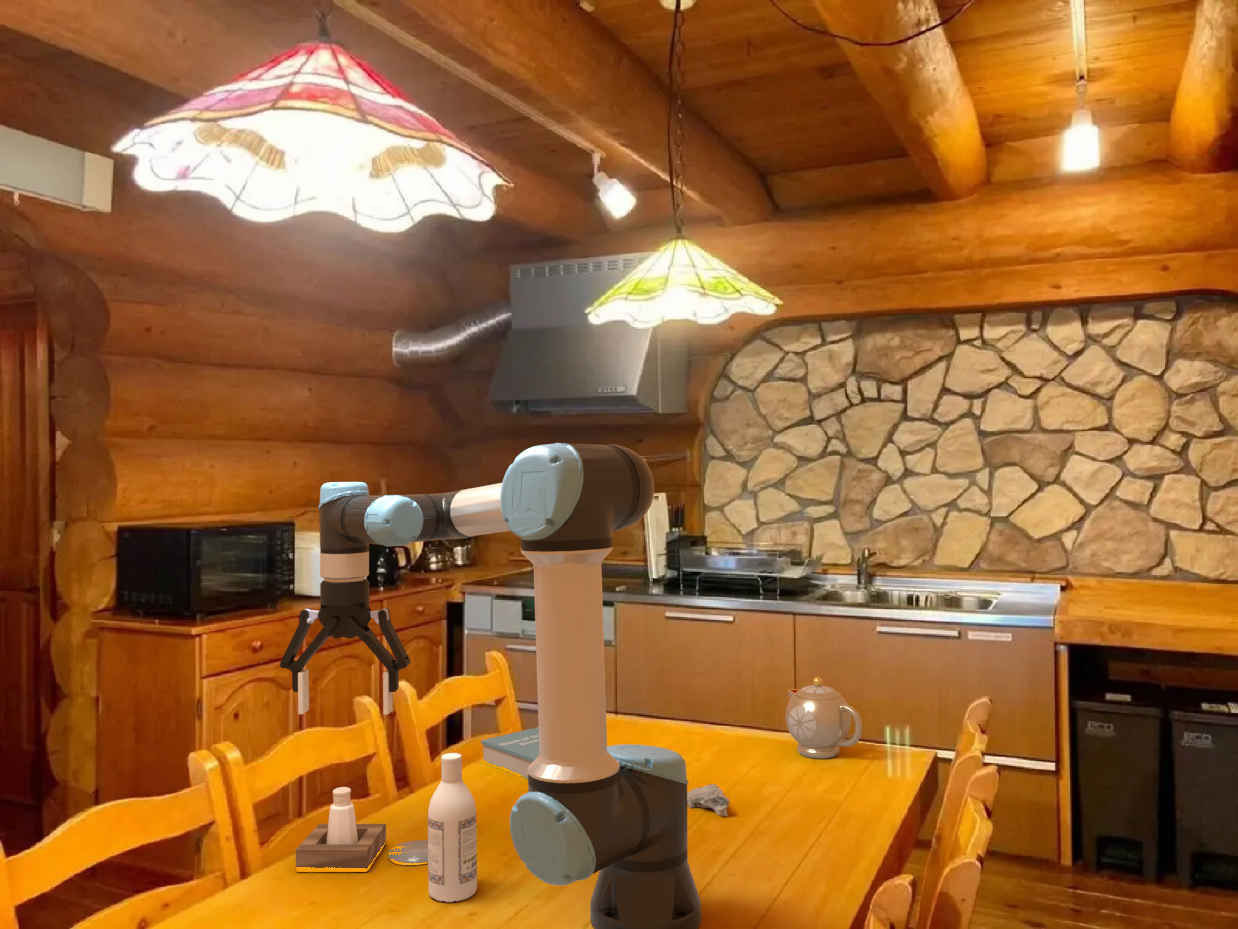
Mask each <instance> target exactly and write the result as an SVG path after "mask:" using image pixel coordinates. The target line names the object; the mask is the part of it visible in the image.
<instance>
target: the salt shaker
mask: <svg viewBox="0 0 1238 929" xmlns="http://www.w3.org/2000/svg"><path fill="white" fill-rule="evenodd" d="M351 793H352V789H351V788H350V787H347V786H340V787H336V788H334V789H332V796H333V797H332V798H333V799H332V800H333V802H332V804H331V805H329V806H330V807H329V815H328V822H327V824H328V834H327V844H357V843H358V837H357V828H356V824H357V822H356V813H355V805H354V804H353V802H352V801H351Z"/></svg>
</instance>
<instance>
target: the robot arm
mask: <svg viewBox="0 0 1238 929" xmlns="http://www.w3.org/2000/svg"><path fill="white" fill-rule="evenodd" d="M319 490H320V491H319V492H320V493H319V505H318V511H319V513H318V516H319V517H318V519H319V521H318V522H319V548H320V550H319V551H320V552H319V577H321V579H323V580H322V581H321V582H320V583H319V585H320V586H319V590H320V591H319V593H320V594H319V595H320V596H319V598H320V601H319V602H320V603H319V604H320V608H319V610H314V609H313V608H311V607H308V608H305V609H303V610H301V611H300V612H299V620H298V622H299V623H298V625H297V627H296V629H295V631H294V634H293V636H292V638H291V640H290V642H289V644H288V645H287V648H286V650H285V652H284V654H283V656H282V658H281V660H280V663H279V667H280V668H281V669H286V670H289V671H290V672H291V675H292V676H291V680H292V684H291V685H292V686H291V688H292V689H291V690H292V691H293V693H294V692H295V693H297V700H298V702H297V707H298V709H297V710H298V711H297V713H298V714H297V715H304V714H306V713H307V712H308V711H309V710H310V686H309V685H310V683H309V682H310V681H309V679H310V678H309V676H310V674H309V673H310V672H309V668H308V669H306V668H305V666H306V665H307V664H308V663H309V661H310V660H311V659H312V657H313V656H315V654H316V653H317V651H319V649H320V648H321V647H322V646H323V645H324V643H325V642H326V641H327V640H328V639H329V638H330V637H331V638H333V639H340V638H346V639H354V638H356V637H358V638H359V640H361V641H362V642H363V643H365V645H366V646H367V647H368V649H369V650H370V651H371V652H372V653H373V654H374V656H375V657H376V658H377V660H379V662H380V663H381V664H382V665H383V667H384V668H385V669H386V670H385V671H384V672H383V674H382V682H383V684H382V686H383V687H382V690H383V691H382V692H383V697H382V699H383V702H382V703H383V704H382V705H383V706H382V707H383V712H382V713H383V715H390V713H392V712H393V710H394V709H393V708H394V707H393V705H394V698H393V696H394V695H393V694H394V693H396V692H397V691H398V690H399V687H400V686H399V685H400V682H399V677H400V674H399V671H400V670H402V669H405V668H407V666H409V665H410V664H411V659H410V657H409V655H408V653H407V651H406V649H405V647H404V645H403V644H402V642H401V641H402V640H400V637H399V635H398V633H397V630H396V629H395V628H394V625H393V623H392V619H391V612H390V609H389V608H388V607H383V608H382V609H377V610H376V609H375V610H372V609H371V607H370V581H369V580H368V579H367V578H366V577H368V576H369V575H370V545H369V544H371V545H372V544H373V545H379V546H380V545H382V546H384V547H390V548H391V547H400V546H401V547H402V546H408V545H409V544H411V543H420V542H421V543H422V542H428V541H442V540H443V541H445V540H463V539H467V538H473V537H475V536H482V535H490V534H496V533H504V532H511V533H512V534H514V536H516V537H518V538H519V539H520V552H521V553H522V554H523V556H525V558H526V559H527V560H528V561H529V562H531V564H532V565H533V586H534V590H533V591H534V617H535V618H534V619H535V625H534V626H535V648H536V649H535V651H536V683H537V684H536V686H537V717H538V719H537V720H538V727H539V756H538V757H537V758H536V759H535V760H534V761H533V762H532V763H531V764H530V766H529V767H528V780H527V781H528V782H527V788H528V790H527V791H528V792H526V793H524V794H522V795H521V796H520V797H519V798H518V799H517V800H516V802H515V804H514V805H513V806H512V808H511V811H510V816H509V829H510V830H509V832H510V835H511V840H512V843H513V846H514V849H515V851H516V853H517V855H518V857H519V859H520V861H521V862H523V864H524V865H525V867H526V869H527V870H529V872H530V873H531V874H532V875H533V876H535V878H537V879H538V880H539V881H542V882H544V883H546V884H549V885H552V886H559V887H560V886H562V887H563V886H567V885H570V884H573V883H575V882H577V881H585V880H586V879H588V878H590V877H591V876H592V875H593V874H595V873H597V872H599V873H598V876H597V879H596V882H595V886H594V888H593V893H592V895H591V899H590V904H589V906H590V907H589V908H590V911H589V912H590V914H589V916H590V924H591V925H592V927H593V928H594V929H698V927H699V926H700V924H701V922H702V902H701V898H700V895H699V892H698V889H697V886H696V883H695V879H694V877H693V874H692V871H691V867H690V864H689V860H688V859H689V858H688V857H689V856H688V855H689V854H688V802H687V793H688V786H689V780H688V776H687V762H686V761H685V759H684V758H683V756H682V755H681V754H680V753H678V752H676V751H674V750H672V749H668V748H664V747H660V746H653V745H646V744H645V745H644V744H630V743H629V744H613V745H610V746H608V733H607V727H608V726H607V706H606V705H607V702H606V700H607V699H606V668H605V638H604V637H605V636H604V635H605V634H604V633H605V632H604V609H603V608H604V606H603V605H604V604H603V600H604V599H603V576H602V575H603V574H602V572H603V571H602V563H603V561H604V559H605V558H606V557H608V555H609V554H610V553H611V552H612V550H614V549H613V548H614V545H613V540H614V539H613V537H614V536H613V532H617V531H618V532H619V531H622V530H625V529H628V528H630V527H632V526H634V525H635V524H636V523H638V522H640V520H642V519H643V518H644V517H645V515H647V513H648V511H649V509H650V508H651V506H652V503H653V501H654V496H655V480H654V477H653V473H652V471H651V468H650V466H649V464H648V463H647V462H646V461H645V459H644V458H643V457H642V456H641V455H640V454H638V453H637V452H636V451H634V450H632V449H630V448H628V447H625V446H623V445H620V444H619V445H618V444H611V443H607V444H590V443H589V444H585V443H567V442H566V443H565V442H563V443H561V442H556V443H555V442H554V443H549V444H540V445H534V446H531V447H529V448H527V449H525V450H523V451H522V452H520V453H519V454H518V455H517V456H516V457H515V459H514V461H513V463H511V464H510V465H509V466H508V468H507V470H506V471H505V474H504V476H503V479H502V482H499V483H494V484H489V485H484V486H478V487H472V488H466V489H460V490H454V491H450V492H442V493H441V492H440V493H426V494H425V493H420V494H418V493H417V494H386V495H370V491H369V485H368V484H367V483H366V482H362V481H336V482H335V481H333V482H331V481H330V482H325V483H323V484H322V485H321V487H320V489H319ZM316 619H317V620H318V621H319V623H320V624H321V625H322V627H323V628H322V629H321V630H319V632H318V633H317V635H316V637H314V638H313V640H312V642H310V643H309V645H308V646H307V647H306V648H305V649H304V651H303V652H302V653H301V654H300V655H299V657H298V658H297V659H296V656H297V655H298V652H299V650H300V649H301V646H302V644H303V643H304V640H305V638H306V636H307V634H308V632H309V630H310V627H311V625H312V624H313V623H315V621H316ZM372 619H373V620H374V621H375V623H376V624H378V625H379V627H380V630H381V632H382V634H383V636H384V638H385V640H386V642H387V644H388V646H389V648H390V650H391V652H392V654H393V655H392V654H391V653H390V651H388V649H387V648H386V647H385V646H384V645H383V643H382V642H381V640H379V639H378V637H377V635H375V633H374V631H373V630H372V629H371V627H370V626H369V623H370V621H371V620H372ZM295 659H296V660H295ZM304 668H305V669H304Z"/></svg>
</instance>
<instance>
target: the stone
mask: <svg viewBox="0 0 1238 929" xmlns="http://www.w3.org/2000/svg"><path fill="white" fill-rule="evenodd" d="M729 803H730V799H729V798H728V797H727V796H725V794H724V792H723V790H722V789H721V788H720V786H717V785H716V784H715V783H710V784H707V785H704V786H702V787H696V788H695V787H694V788H693V789H691V790H690V791H687V805H688V808H689V809H694V808H696V807H698V808H701V809H702V808H703V809H711V810H713V811H714V812H715V813H716V815H718V816H722V817H728V815H729V814H728V810H727V808H728V807H729Z"/></svg>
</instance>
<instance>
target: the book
mask: <svg viewBox="0 0 1238 929" xmlns="http://www.w3.org/2000/svg"><path fill="white" fill-rule="evenodd" d="M480 744H481V745H482V746H483V750H482V752H483V754H482V755H483V756H482V757H483V760H485V761H486V762H488V763H490V764H493V765H496V766H498V767H504V768H506V769H509V770H510V771H512V772H515V773H518V774H520V775H522V776H523V777H525V778H527V779H528V767H529V766H530V764H531V763H532V762H533V761H534V760H535V759H536V758H537V757H538V756H539V726H537V727H534V728H528V729H523V730H519V731H515V732H511V733H507V734H502V735H498V736H494V737H490V738H486V739H481V740H480ZM483 760H482V761H483ZM527 779H526V780H527Z"/></svg>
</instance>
